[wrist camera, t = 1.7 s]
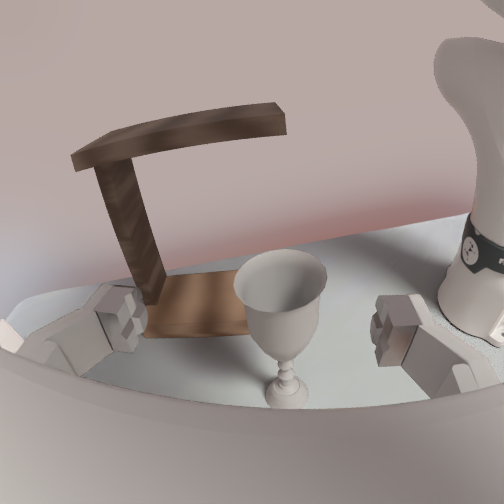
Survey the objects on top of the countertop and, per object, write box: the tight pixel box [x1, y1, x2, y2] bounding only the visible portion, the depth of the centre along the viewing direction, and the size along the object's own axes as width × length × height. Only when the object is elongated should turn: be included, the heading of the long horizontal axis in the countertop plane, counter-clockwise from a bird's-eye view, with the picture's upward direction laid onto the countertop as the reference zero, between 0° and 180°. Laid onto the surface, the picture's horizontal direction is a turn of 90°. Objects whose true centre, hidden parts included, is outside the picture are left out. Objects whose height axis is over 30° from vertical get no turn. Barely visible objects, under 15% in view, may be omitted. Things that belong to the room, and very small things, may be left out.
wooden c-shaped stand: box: [71, 102, 287, 338], centre depth 38 cm, size 22×11×28 cm, turn 90°
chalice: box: [233, 249, 327, 409], centre depth 27 cm, size 7×7×18 cm
